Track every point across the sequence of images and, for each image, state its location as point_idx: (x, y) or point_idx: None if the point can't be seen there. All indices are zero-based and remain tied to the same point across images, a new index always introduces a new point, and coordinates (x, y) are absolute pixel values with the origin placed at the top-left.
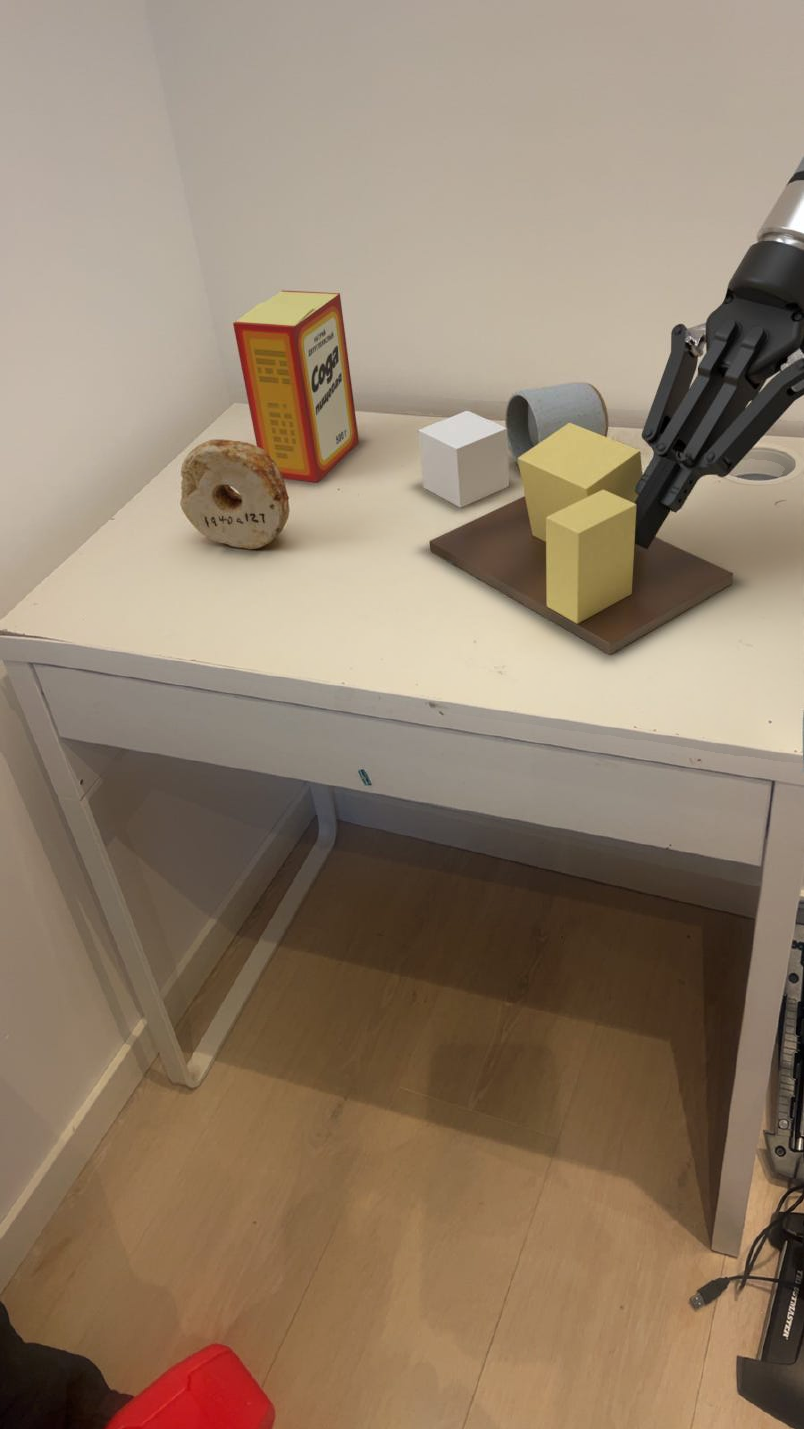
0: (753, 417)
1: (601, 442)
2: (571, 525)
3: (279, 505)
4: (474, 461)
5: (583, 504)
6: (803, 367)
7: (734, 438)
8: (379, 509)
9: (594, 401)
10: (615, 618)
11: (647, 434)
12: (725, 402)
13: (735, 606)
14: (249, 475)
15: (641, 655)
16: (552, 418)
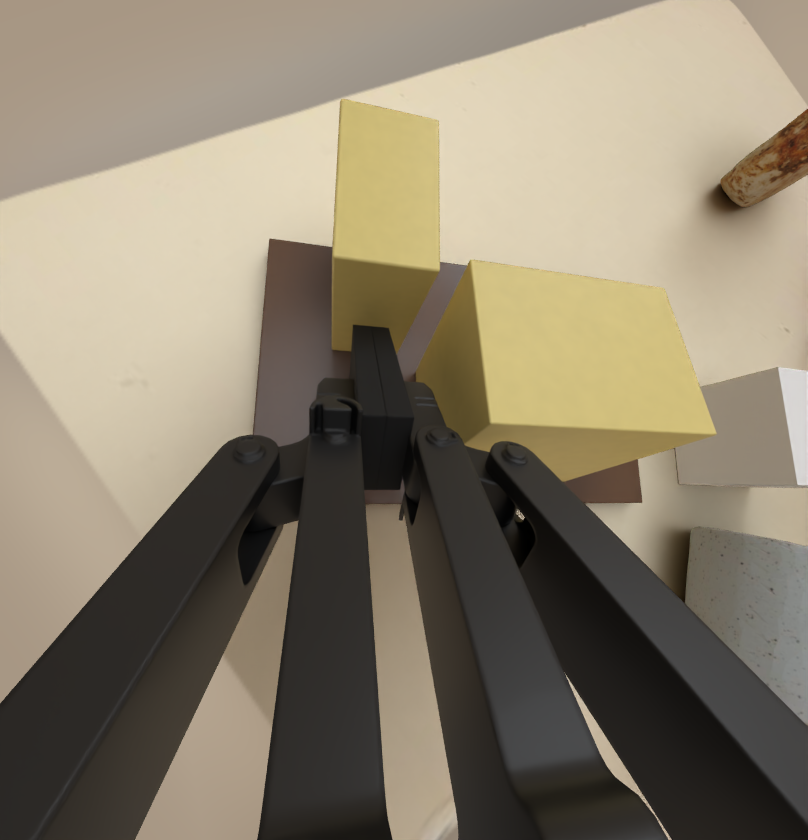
0: (55, 652)
1: (591, 403)
2: (374, 113)
3: (770, 140)
4: (741, 412)
5: (421, 195)
6: None
7: (165, 524)
8: (721, 327)
9: (805, 704)
10: (307, 289)
11: (511, 447)
12: (293, 662)
13: (207, 454)
14: None
15: (239, 273)
16: (788, 577)
